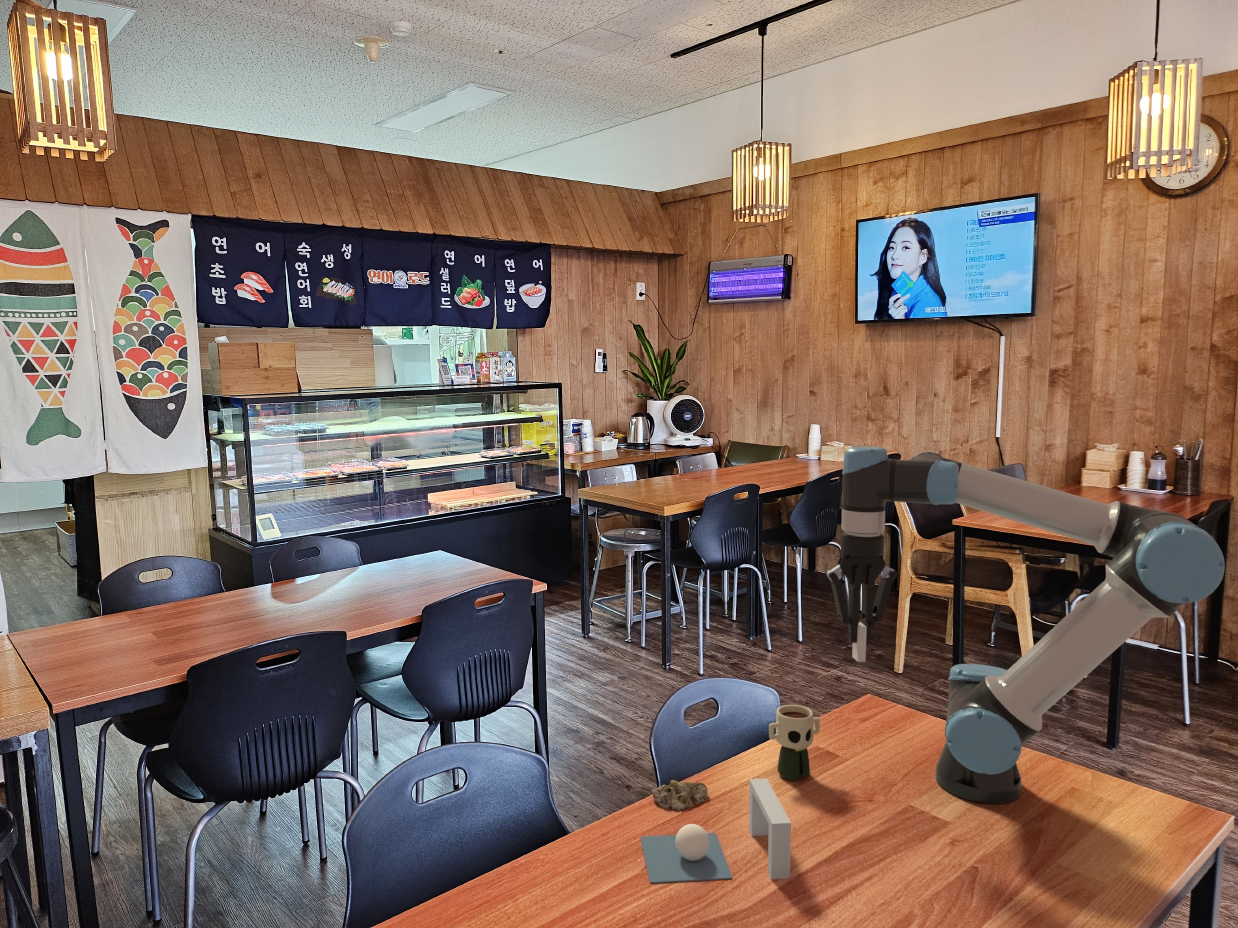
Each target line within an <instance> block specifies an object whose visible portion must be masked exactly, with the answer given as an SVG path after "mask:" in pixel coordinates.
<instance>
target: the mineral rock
mask: <svg viewBox="0 0 1238 928" xmlns="http://www.w3.org/2000/svg"><path fill="white" fill-rule="evenodd" d="M651 793H652V798H653V801H654V802H655V803H657V804H658V805H659V806H660V807H661V808H663V809H669V810H675V811H681V810H684V809H689V808H693V807H695V806H697V805H699V804H703V802H705V799H707V798H708V793H709V791H708V787H707V786H706V784H705V783H703V782H698V781H696V782H692V781H686V782H680V783H679V781H678V780H676V779H671V780H670V781H669V785H667V784H662V785H660V786H657V787H656V788H654V789H652V790H651Z"/></svg>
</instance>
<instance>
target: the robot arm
mask: <svg viewBox="0 0 1238 928" xmlns="http://www.w3.org/2000/svg"><path fill="white" fill-rule="evenodd" d="M842 467H843V468H842V472H841V474H842V476H841V477H842V478H841V479H842V486H841V488H842V492H841V493H842V497H841V500H842V502H841V530H842V531H843V532H842V533H841V535H840V557H839V559H838V561H837V565H836V566H834V567H833V568H832V569H826V570H825V576H826V578H828V580H829V581H830V585H831V589H832V594H833V598H834V603H835V608H836V614H837V617H838V619H839V620H840V621H841V622H843V623H844V624H848V625H847V627H848V629H847V631H848V632H847V638H848V641H849V642H850V643H852V652H851V653H852V654H851V655H852V656H851V657H852V658H853V659H854V660H855V661H856V662H858V663H862V662H863V663H864V662H866V657H867V656H866V655H867V643H871V641H872V628H873V627H874V626H875V624H876V623H881V622H883V621H882V620H883V618H884V615H885V611H886V608H887V607H886V606H887V604H888V599H889V595H890V593H891V592H890V591H891V589H892V584H893V583H894V581H895V580H896V579H897V578H898V571H897V570H895V569H893V568H892V567H889V566H887V565H886V561H885V558H884V553H885V536H884V535H883V534H882V533H884V532H885V527H886V502H893V503H894V502H897V503H915V504H928V505H930V504H931V505H934V506H938V505H953V504H959V505H962V506H965V507H968V508H972V509H975V510H978V511H982V512H984V513H988V514H991V515H994V516H997V517H1001V518H1005V519H1007V520H1010V521H1014V522H1016V523H1017V522H1018V523H1021V524H1024V525H1027V526H1030V527H1033V528H1037V529H1040V530H1043V531H1047V532H1050V533H1053V534H1056V535H1060V536H1062V537H1067V538H1069V539H1073V540H1075V541H1079V542H1083V543H1085V544H1089V545H1092V546H1094V548H1095V549H1096V551H1097V553H1100V554H1103V555H1106V556H1108V557H1111V558H1112V559H1111V560H1110V561H1109V562H1107V564H1105V579H1104V581H1102V582H1101V583H1100V584H1099V585H1098V586H1097V587H1096V588H1094V590H1092V592H1090V593H1089V594H1088V595H1087V596H1086V597H1085V598H1084V599H1083V600H1082V601H1081V602H1079V604H1078V605H1075V607H1074V608H1073V609H1072V610H1070V612H1069V613H1068V614H1066V616H1064V617H1063V618H1062V619H1060V621H1059V622H1058V623H1056V625H1055V626H1054V627H1053V628H1052V629H1050V630H1049V631H1048V632H1047V633H1046V634H1045V635H1044V636H1043V637H1041V638H1040V640H1039V641H1038V642H1036V643H1035V644H1034V645H1033V646H1032V647H1031V648H1029V649H1028V650H1027V651H1026V653H1024V654H1023V655H1022V656H1021V657H1020V658H1018V660H1017V661H1016V662H1015V663H1014V664H1012V665H1011V666H1010V667H1009V668H1008V669H1004V668H1002V667H997V666H993V665H986V664H978V663H960V664H954V665H953V666H952V667H951V668H950V671H949V677H948V682H949V683H948V684H949V685H948V703H947V715H946V722H945V727H944V735H945V739H946V741H945V744H944V746H943V748H942V751H941V753H940V756H939V759H938V760H937V762H936V766H935V781H936V783H937V784H938V786H940V787H941V788H942V789H943V790H945V791H946V792H948V793H949V794H952V795H954V796H955V797H959V798H961V799H964V800H967V801H972V802H974V803H975V802H976V803H981V804H992V805H993V804H995V805H996V804H1006V803H1010V802H1013V801H1015V800H1017V799H1018V798H1019V797H1020V796H1021V794H1022V777H1021V774H1020V771H1019V767H1018V763H1017V762H1018V760H1019V758H1020V755H1021V753H1022V749H1023V748H1022V747H1023V746H1024V745H1025V744H1026V743H1028V741H1029V740H1031V739H1032V738H1033V737H1034V736H1035V735H1036V734H1037V733H1039V732H1040V731H1041V730H1042V729H1043V725H1042V724H1043V722H1042V721H1043V720H1042V719H1043V718H1042V717H1043V715H1044V714H1045V713H1046V712H1047V711H1048V710H1049V709H1051V707H1053V706H1054V705H1055V704H1056V703H1057V702H1059V701H1060V700H1061V698H1063V697H1064V696H1065V695H1066V694H1068V692H1069V691H1071V690H1072V689H1073V688H1074V687H1075V686H1076V685H1078V684H1079V683H1080V682H1081V681H1082V680H1083V679H1085V677H1087V676H1088V675H1089V674H1090V673H1091V672H1093V670H1094V669H1096V668H1097V667H1098V666H1099V665H1100V664H1102V663H1103V661H1105V660H1106V659H1107V658H1108V657H1110V655H1111V654H1113V653H1114V652H1115V651H1116V650H1117V649H1118V648H1120V647H1121V645H1123V644H1124V643H1125V642H1127V640H1129V639H1130V638H1131V637H1132V636H1133V635H1134V634H1136V632H1138V631H1139V630H1140V629H1141V628H1143V626H1144V625H1146V624H1147V622H1149V621H1150V620H1152V619H1154V618H1156V619H1157V618H1164V619H1165V618H1167V619H1168V618H1170V617H1171V616H1172V615H1173V614H1174V613H1175V612H1177V611H1178V610H1179V609H1180V608H1181V607H1183V605H1185V604H1190V603H1195V602H1198V601H1200V600H1203V599H1205V598H1207V597H1209V596H1210V595H1212V594H1213V593H1214V592H1215V590H1216V589H1217V588H1218V587H1219V585H1220V584H1221V582H1222V580H1223V578H1224V573H1225V569H1226V568H1225V565H1226V564H1225V557H1224V555H1223V552H1222V550H1221V548H1220V546H1219V544H1218V543H1217V541H1216V540H1215V538H1214V537H1213V536H1212V535H1211V534H1209V532H1207V531H1206V530H1205V529H1202V528H1201V527H1199V526H1198V525H1196V524H1195V523H1193V522H1192V521H1191V520H1189V519H1188V518H1185V516H1182V515H1180V514H1177V513H1175V512H1174V513H1173V512H1169V511H1164V510H1158V509H1153V508H1147V507H1143V506H1138V505H1134V504H1130V503H1125V502H1122V501H1119V500H1114V501H1113V502H1111V503H1105V502H1100V501H1097V500H1094V499H1089V498H1086V497H1083V496H1080V495H1076V494H1072V493H1068V492H1066V491H1063V490H1058V489H1054V488H1052V487H1048V486H1045V485H1040V484H1037V483H1035V482H1030V481H1027V480H1023V479H1020V478H1017V477H1013V476H1010V475H1006V474H1002V473H999V472H995V471H991V470H989V469H985V468H982V467H977V466H974V465H971V464H967V463H966V462H965V463H964V462H959V461H956V460H953V459H950V458H946V457H944V456H942V455H941V454H939V453H936V452H932V451H931V452H930V451H926V452H920V453H918V454H916V455H914V456H913V457H911V459H896V458H894V459H893V458H889V455H888V451H887V449H885V447H882V446H881V447H880V446H866V445H865V446H851V447H848V448H847V449H846V450H845V451H844V455H843V466H842ZM842 574H843V575H844V577H845V578H846V579H847V586H848V592H847V593H848V595H847V597H848V598H847V603H846V598H845V593H844V588H843V585H842V581H841V579H842ZM879 576H880V577H881V578H880V579H879V582H878V587H877V591H876V595H875V598H874V591H875V588H876V587H875V585H876V580H877V579H878V578H879ZM860 594H861V612H860ZM860 613H861V615H860ZM860 617H861V618H860ZM859 619H861V622H860V620H859Z"/></svg>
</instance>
